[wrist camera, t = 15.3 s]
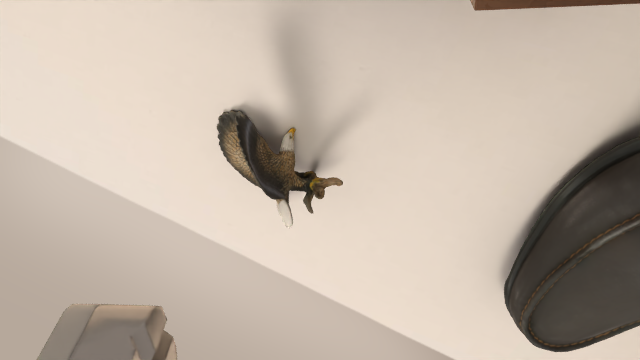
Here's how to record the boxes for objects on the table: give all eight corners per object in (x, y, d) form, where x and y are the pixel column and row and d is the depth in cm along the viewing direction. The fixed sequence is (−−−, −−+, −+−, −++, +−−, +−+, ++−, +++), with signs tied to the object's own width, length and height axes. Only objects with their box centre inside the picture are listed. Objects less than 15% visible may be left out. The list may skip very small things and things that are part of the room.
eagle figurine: (355, 134, 42) (247, 84, 38) (335, 224, 40) (219, 180, 36) (306, 157, 49) (210, 116, 45) (287, 235, 46) (184, 199, 42)
